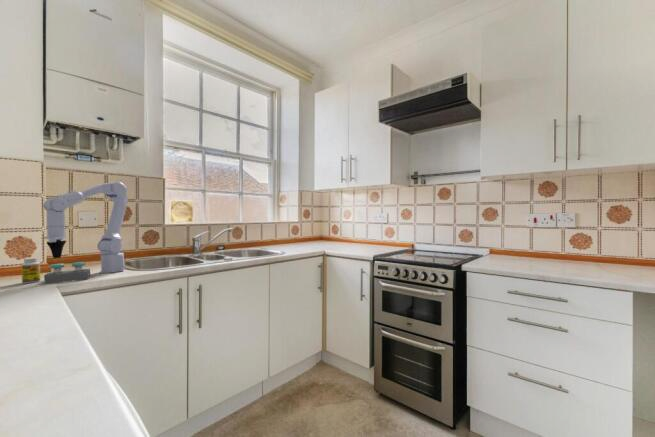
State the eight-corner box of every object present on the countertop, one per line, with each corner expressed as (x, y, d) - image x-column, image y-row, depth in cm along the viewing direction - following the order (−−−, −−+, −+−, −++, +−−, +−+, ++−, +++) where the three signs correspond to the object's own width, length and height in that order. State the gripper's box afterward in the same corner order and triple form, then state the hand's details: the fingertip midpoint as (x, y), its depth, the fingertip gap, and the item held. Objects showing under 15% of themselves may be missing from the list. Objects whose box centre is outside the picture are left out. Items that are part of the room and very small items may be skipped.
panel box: (90, 276, 138) (90, 268, 138) (87, 279, 132) (87, 271, 132) (49, 280, 131) (49, 272, 131) (44, 283, 124) (44, 275, 124)
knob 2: (86, 271, 136) (85, 261, 136) (84, 273, 132) (84, 263, 132) (73, 272, 134) (72, 262, 134) (70, 274, 130) (70, 264, 130)
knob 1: (65, 273, 133) (65, 263, 133) (63, 275, 129) (63, 264, 129) (51, 274, 130) (51, 264, 130) (49, 276, 126) (48, 265, 126)
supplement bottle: (20, 284, 124) (19, 259, 123) (24, 281, 128) (23, 257, 128) (38, 282, 127) (38, 258, 126) (42, 280, 131) (41, 256, 131)
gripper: (48, 225, 133) (49, 256, 133) (38, 227, 121) (39, 261, 121) (68, 225, 137) (69, 255, 137) (61, 226, 124) (62, 259, 125)
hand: (57, 257), depth 129 cm, fingers closed
